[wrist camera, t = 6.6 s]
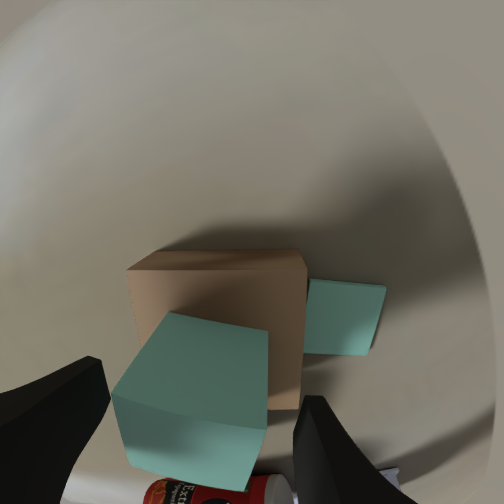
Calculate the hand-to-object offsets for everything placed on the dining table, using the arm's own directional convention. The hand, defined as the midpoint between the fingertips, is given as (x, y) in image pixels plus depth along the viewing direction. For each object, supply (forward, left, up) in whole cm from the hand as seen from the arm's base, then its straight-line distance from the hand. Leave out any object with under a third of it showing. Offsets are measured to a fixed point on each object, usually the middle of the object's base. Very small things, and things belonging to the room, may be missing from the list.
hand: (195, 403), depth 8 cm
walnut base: (0, 0, -6) cm, 6 cm away
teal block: (0, 0, -3) cm, 3 cm away
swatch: (-6, -1, -6) cm, 8 cm away
